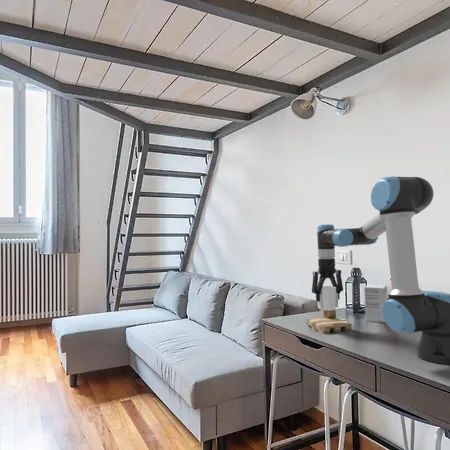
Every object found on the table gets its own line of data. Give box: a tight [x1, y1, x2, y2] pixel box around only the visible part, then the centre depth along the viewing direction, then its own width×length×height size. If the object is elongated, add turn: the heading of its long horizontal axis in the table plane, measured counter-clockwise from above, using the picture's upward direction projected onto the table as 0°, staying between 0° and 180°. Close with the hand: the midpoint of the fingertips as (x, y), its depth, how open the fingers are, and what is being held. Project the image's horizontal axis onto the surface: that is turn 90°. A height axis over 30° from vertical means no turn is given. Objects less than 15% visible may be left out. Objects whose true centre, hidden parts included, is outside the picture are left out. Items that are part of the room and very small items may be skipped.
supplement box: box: [363, 283, 388, 324], centre depth 202 cm, size 10×9×17 cm
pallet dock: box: [306, 316, 353, 335], centre depth 190 cm, size 16×14×3 cm
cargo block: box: [323, 309, 337, 319], centre depth 197 cm, size 4×4×4 cm
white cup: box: [320, 285, 337, 311], centre depth 188 cm, size 8×8×10 cm
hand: (328, 307), depth 188 cm, fingers closed on white cup, 8 cm apart
